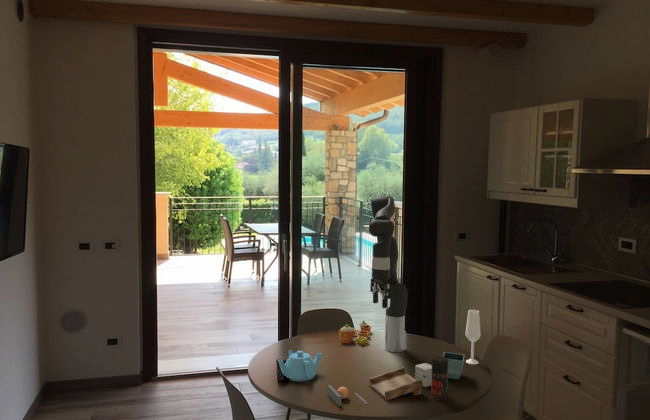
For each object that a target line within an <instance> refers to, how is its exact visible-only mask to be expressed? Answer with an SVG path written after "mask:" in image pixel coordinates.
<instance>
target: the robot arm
mask: <svg viewBox="0 0 650 420" xmlns="http://www.w3.org/2000/svg"><path fill="white" fill-rule="evenodd" d="M394 200H395V199H394V198H393V197H392V195H391V196H390V195H385V196H377V197H373V198H371V199H370V208H371V213H372V218H373V219H371V221H370V223H369V225H368V233H369V234H370V235H371V236H373V237H375V238H376V241H377V242H374V243H373V245H372V260H371V278H370V290H369V291H370V293H371V294H372V303H373V304H379V295H381V298H382V299H381V300H382V301H381V308H382V309H385V333H384V335H385V336H384V347H385V348H384V350H386V352H390V353H401V352H404V351H406V350H407V331H406V330H405V322H406V321H405V319H406V318H405V317H406V311H407V305H408V289H407V286H406V285H405V284H403V283H400V282H399V279H398V277H397V265H398V261H399V249H398V241H397V240H396V238H395V237H394V236H393V235H394V231H395V224H394V222H393V221H392V218H393V216H394V214H395V212H396V205H395V201H394ZM388 300H389V301H388ZM388 303H389V304H388Z"/></svg>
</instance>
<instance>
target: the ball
mask: <svg viewBox="0 0 650 420" xmlns="http://www.w3.org/2000/svg"><path fill="white" fill-rule="evenodd" d="M348 389H349V388H347V387H345V386H341V387H339V388H338V389H337V390H336V391H337V392H338V393H339V394H340V395H341V396H342V399H341V400H344V399H345V400H346V398H348V396H349V390H348Z"/></svg>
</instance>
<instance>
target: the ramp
mask: <svg viewBox="0 0 650 420" xmlns="http://www.w3.org/2000/svg"><path fill="white" fill-rule="evenodd" d="M368 380H369V387H370V388H371V389H372V390H374V391H375V392H376V393H377V394H378V395H379V396H381V398H383V400H385V401H390V400H392V399H395V398H399V397H402V396H403V395H407V394H409V393H410V394H412V396H419V395H422V389H423V386H422V379H419V380H415V377H412V376H411V375H409V374H408V373H407V372H406V368H405V367H404V366H402V367H400V368H397V369H394V370H390V371H388V372H384V373H381V374H379V375H375V376H371V377H370V378H368Z"/></svg>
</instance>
